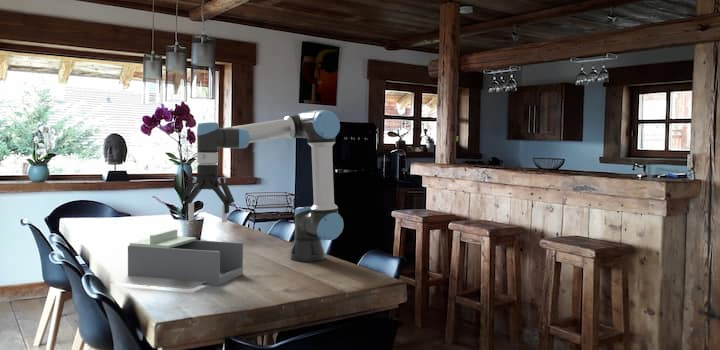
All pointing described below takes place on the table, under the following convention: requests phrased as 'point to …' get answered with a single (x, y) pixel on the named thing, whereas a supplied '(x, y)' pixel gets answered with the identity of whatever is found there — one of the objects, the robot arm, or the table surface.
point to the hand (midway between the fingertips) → (207, 221)
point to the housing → (188, 261)
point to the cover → (163, 240)
